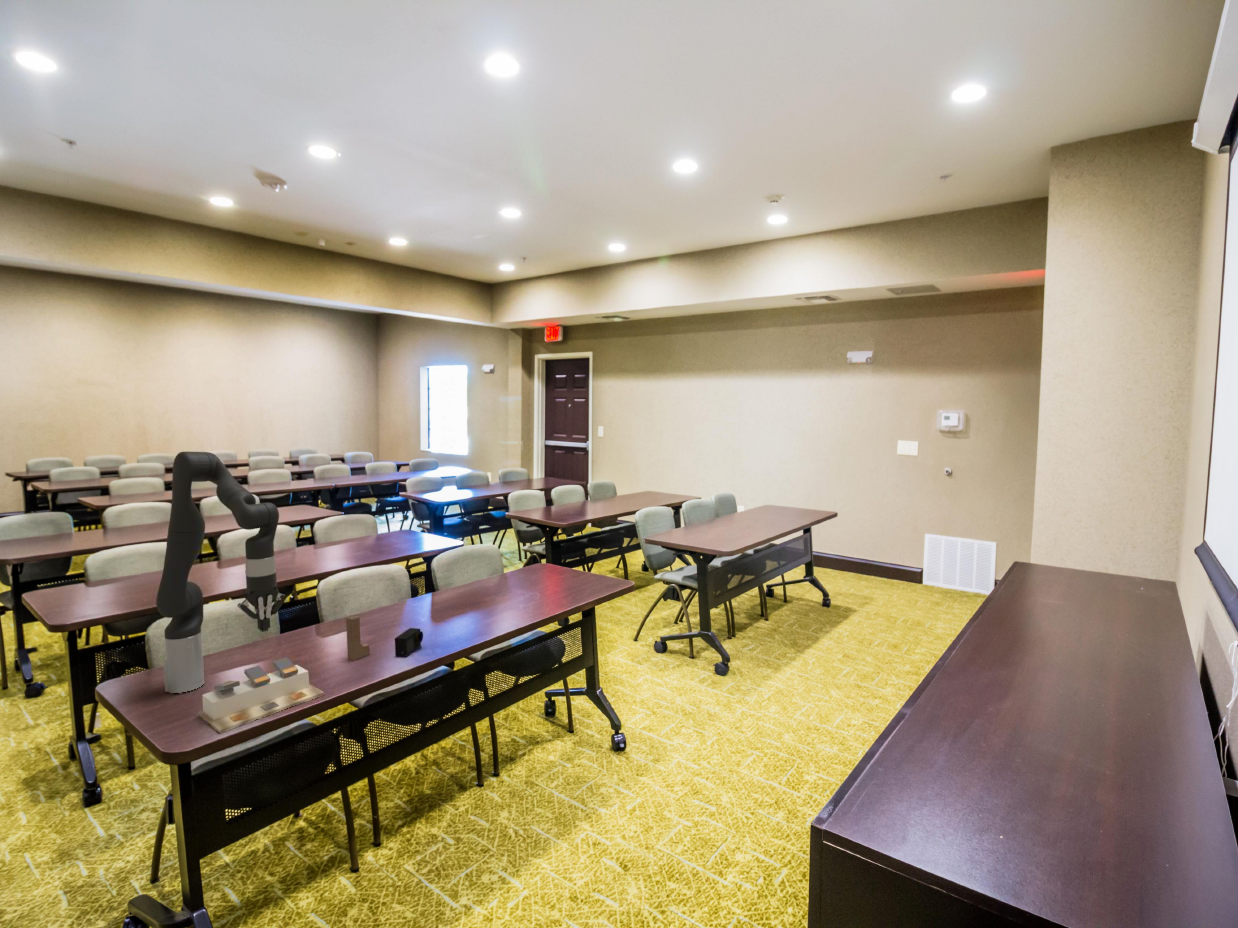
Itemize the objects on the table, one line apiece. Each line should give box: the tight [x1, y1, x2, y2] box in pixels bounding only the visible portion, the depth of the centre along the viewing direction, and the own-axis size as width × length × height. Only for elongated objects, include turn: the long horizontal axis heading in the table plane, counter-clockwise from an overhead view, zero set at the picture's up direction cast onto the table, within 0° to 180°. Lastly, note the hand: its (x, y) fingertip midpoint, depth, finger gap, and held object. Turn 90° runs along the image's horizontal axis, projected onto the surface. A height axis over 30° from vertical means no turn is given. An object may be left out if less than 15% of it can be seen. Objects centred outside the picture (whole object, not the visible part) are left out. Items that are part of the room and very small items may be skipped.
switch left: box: [213, 680, 241, 691], centre depth 172 cm, size 4×8×1 cm, turn 52°
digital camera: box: [394, 627, 424, 659], centre depth 217 cm, size 10×5×7 cm, turn 170°
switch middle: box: [243, 665, 270, 687], centre depth 179 cm, size 4×8×1 cm, turn 52°
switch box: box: [201, 664, 310, 720], centre depth 179 cm, size 26×8×6 cm, turn 142°
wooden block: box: [345, 614, 371, 662], centre depth 212 cm, size 7×3×15 cm, turn 145°
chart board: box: [198, 683, 325, 734], centre depth 177 cm, size 28×16×1 cm, turn 142°
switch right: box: [272, 656, 298, 677], centre depth 185 cm, size 4×8×1 cm, turn 52°
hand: (264, 630), depth 174 cm, fingers closed
